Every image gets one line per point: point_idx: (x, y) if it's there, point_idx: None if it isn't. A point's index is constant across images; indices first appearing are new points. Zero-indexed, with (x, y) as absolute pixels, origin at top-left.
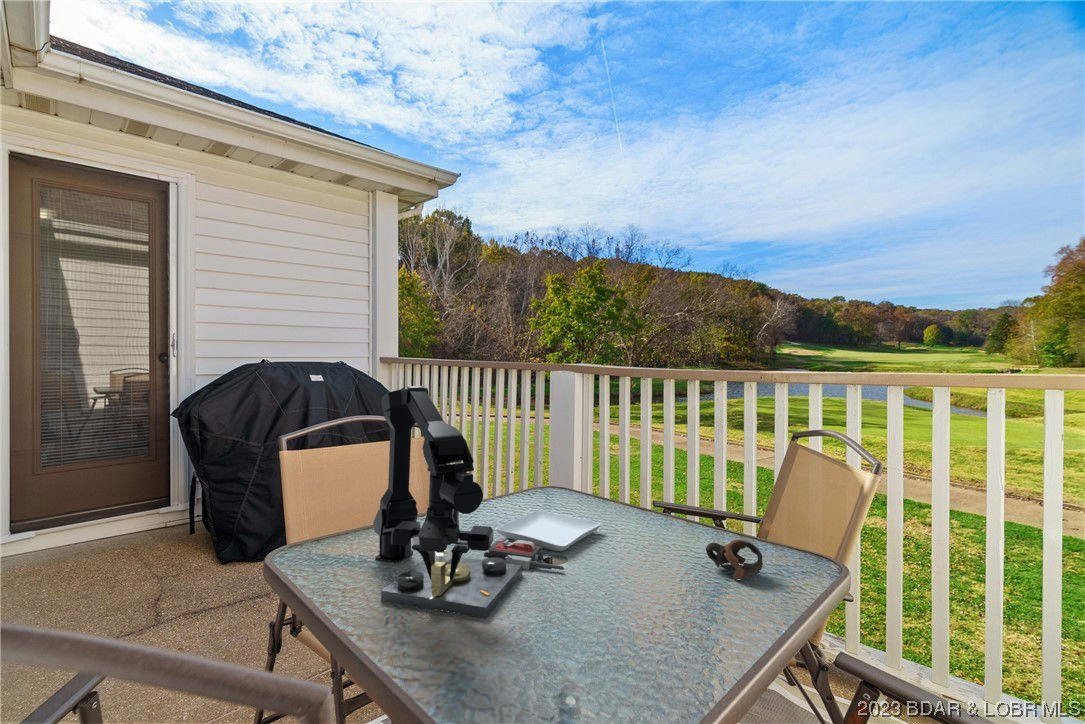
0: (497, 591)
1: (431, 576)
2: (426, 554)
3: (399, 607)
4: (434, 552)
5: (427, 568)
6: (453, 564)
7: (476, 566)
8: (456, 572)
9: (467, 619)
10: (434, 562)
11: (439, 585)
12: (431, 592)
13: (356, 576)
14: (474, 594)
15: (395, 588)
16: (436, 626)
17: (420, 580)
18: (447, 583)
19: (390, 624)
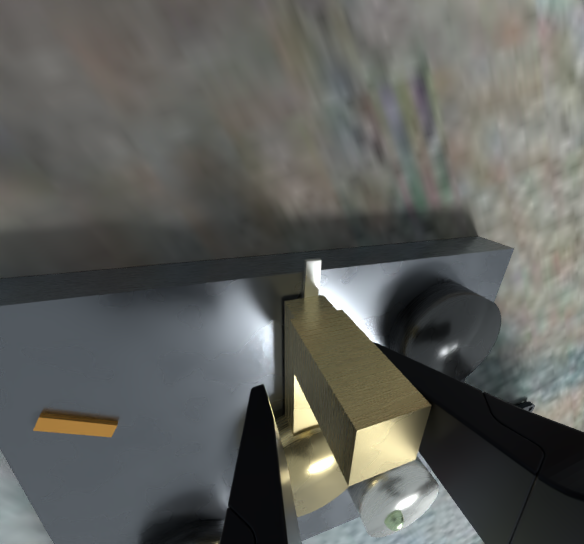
0: (28, 469)
1: (378, 350)
2: (578, 475)
3: (412, 219)
4: (476, 525)
5: (439, 375)
6: (257, 512)
7: None
8: (294, 463)
9: (72, 236)
10: (420, 448)
11: (306, 331)
12: None
13: (555, 322)
14: (129, 392)
15: (472, 281)
16: (189, 113)
17: (411, 345)
18: (292, 385)
19: (404, 71)
